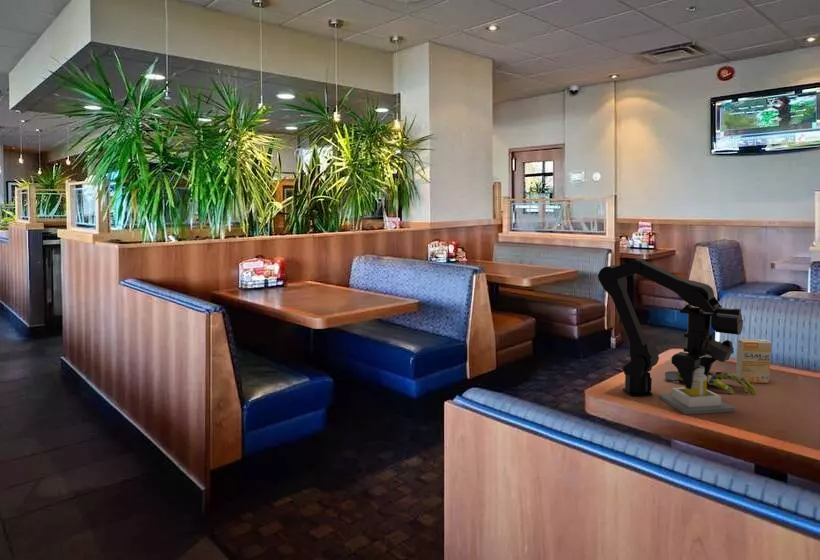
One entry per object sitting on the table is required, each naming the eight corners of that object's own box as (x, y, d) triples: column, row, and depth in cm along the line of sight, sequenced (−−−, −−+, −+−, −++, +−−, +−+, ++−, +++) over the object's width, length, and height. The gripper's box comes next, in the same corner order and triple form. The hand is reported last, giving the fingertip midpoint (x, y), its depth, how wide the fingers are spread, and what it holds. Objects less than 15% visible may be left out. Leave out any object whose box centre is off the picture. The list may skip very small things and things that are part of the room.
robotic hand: (673, 369, 195) (759, 370, 178) (675, 392, 194) (761, 395, 177) (658, 370, 187) (746, 370, 169) (660, 394, 186) (749, 397, 168)
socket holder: (685, 414, 159) (686, 401, 158) (658, 397, 173) (659, 385, 172) (735, 411, 160) (735, 399, 160) (704, 394, 174) (704, 383, 174)
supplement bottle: (699, 397, 169) (701, 363, 168) (710, 403, 164) (711, 369, 162) (681, 397, 169) (682, 364, 168) (690, 404, 164) (691, 369, 162)
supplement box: (740, 383, 184) (742, 341, 183) (735, 378, 189) (737, 338, 187) (769, 383, 183) (772, 342, 181) (763, 379, 188) (765, 338, 186)
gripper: (714, 340, 152) (712, 399, 154) (743, 329, 164) (740, 384, 166) (671, 333, 160) (669, 390, 162) (702, 323, 172) (699, 375, 174)
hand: (696, 385), depth 166 cm, fingers open, 9 cm apart
